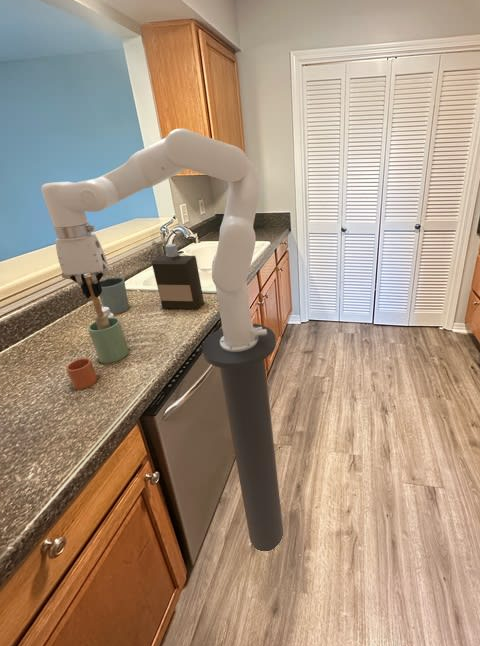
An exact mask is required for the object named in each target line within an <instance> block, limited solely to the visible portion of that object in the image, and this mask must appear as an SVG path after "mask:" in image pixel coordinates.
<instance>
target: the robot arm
mask: <svg viewBox="0 0 480 646" xmlns="http://www.w3.org/2000/svg"><path fill="white" fill-rule="evenodd" d="M186 170H189V171H193V172H195V173H198V174H201V175H205V176H208V177H211V178H215V179H219V180H222V181H225V182H227V184H228V192H227V198H226V204H225V209H224V213H223V217H222V221H221V224H220V228H219V237H218V243H217V248H216V253H215V255H214V257H213V259H212V263H211V280H212V282H213V284H214V285H215V290H216V298H217V304H218V310H219V317H220V321H221V322H220V323H221V329H223V335H224V336H223V337H222V338H221V339H220V346H221V348H222V349H224V350H226V351H229V352H241V351H245V350H248V349H250V348H252V347H253V346H255V345H256V344H257V342H258V336H260V335H267V330H266V329H263V330H262V327H258V328H255V327H253V324H254V323H252V315H251V308H250V306H251V305H250V300H249V299H250V297H249V296H250V295H249V289H248V282H247V279H248V276H249V272H250V268H251V264H252V260H253V256H254V253H255V247H256V243H257V242H256V240H257V239H256V238H257V237H256V232H255V229H254V223H255V218H256V214H257V208H258V204H259V198H260V181H259V177H258V173H257V172H256V169H255V166H254V165H253V163H252V162H251V161H250V160H249V158H248V156H247V154H246V153H245V152H244V151H243V149H241V148H240V147H239V146H236V145H233V144H230V143H227V142H224V141H220V140H218V139H215V138H211V137H209V136H206V135H204V134H201V133H197V132H195V131H193V130H190V129H187V128H183V127H182V128H176V129H173V130H171V131H170V132H169V133H168V134H167V135H166V137H163V138H162V139H161V140H158V141H157V142H155V143H153V144H151V145H149V146H146V147H144V148H142V149H140V150H138V151H136V152H135V153H133V154H132V155H130V157H128V159H127V161H126V162H125V163H123V164H122V165H120V166H118V167H116V168H115V169H113V170H111V171H109V172H107V173H105V174H103V175H100V176H99V177H95V178H90V179H87V180H82V181H76V182H72V181H55V182H47V183H44V184H42V185H41V187H40V191H41V195H42V196H43V200H44V203H45V206H46V208H47V212H48V214H49V217H50V220H51V223H52V226H53V229H54V232H55V235H56V237H57V238H56V239H55V250H56V256H57V259H58V263H59V267H60V269H61V279H66V280H71V281H73V282H74V283H76V284H77V285H78V286H80V288H81V291H82V294H83V295H84V296H85V298H86V299H91V295H90V292H89V289H88V286H87V283H86V280H85V278H86V276H85V275H87V274H89V275H90V276H91V278H92V285H91V286H92V289H93V292H94V295H95V297H98V298H100V296H99V295H100V294H101V292H102V288H101V285H100V281H101V280H102V278H103V277H104V276H106V275H108V274H110V273H111V272H112V269H111V268H110V267H109V266H108V265H109V264H108V260H107V257H106V254H105V251H104V249H103V246H102V245H101V244H102V243H100V241H99V238H98V236H97V235H96V234H95V233H93V232H95V231H97V229H96V226H95V225H91V224H90V222H89V221H88V217H87V214H86V212H88V213H90V212H91V213H96V212H100V211H103V210H105V209H107V208H109V207H111V206H114V205H115V204H117V203H119V202H121V201H123V200H124V199H127V198H128V197H130V196H132V195H134V194H136V193H139V192H140V191H142V190H146V189H149V188H152V187H154V186H156V185H159V184H161V183H162V182H165V181H166V180H168V179H170V178H172V177H174V176H176V175H178V174H180V173H182V172H184V171H186Z"/></svg>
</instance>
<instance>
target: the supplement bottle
mask: <svg viewBox="0 0 480 646" xmlns="http://www.w3.org/2000/svg"><path fill="white" fill-rule="evenodd" d="M101 308H102V311H103V313H106V314H107V317H108V318H110V317H115V314H113V313H110V309H109V307H104V306H101ZM95 314H96V313H95ZM96 315H97V314H96ZM96 315H95V316H96Z"/></svg>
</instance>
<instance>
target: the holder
mask: <svg viewBox="0 0 480 646" xmlns="http://www.w3.org/2000/svg"><path fill="white" fill-rule="evenodd" d="M65 370H66V372H67V375H68V378H69V380H70V382H71V385H72V387H73V388H74V390H84V389H87V388H89V387H92V386H93V385H94V384H96V383H97V381H98V376H97V373H96V371H95V367H94V365H93V362H92V359H91V358H89V357H83V358H78V359H75V360H73V361H71V362H69V363H68V364H67V366H66V367H65Z"/></svg>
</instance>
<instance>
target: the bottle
mask: <svg viewBox="0 0 480 646" xmlns="http://www.w3.org/2000/svg"><path fill="white" fill-rule="evenodd" d="M164 247H165V252H166V255H158V256H157V257H155V258H153V259H151V260H150V262H151V266H152V270H153V274H154V278H155V282H156V286H157V291H158V295H159V299H160V303H161V307H162V309H168V310H169V309H170V310H171V309H172V310H199V308H200V307H201V306H203V304H204V302H205V300H204V295H203V289H202V282H201V278H200V272H199V266H198V261H197V257H196V255H181V254H179V250H178V245H177V244H176V243H170V244H166V245H165V246H164Z"/></svg>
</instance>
